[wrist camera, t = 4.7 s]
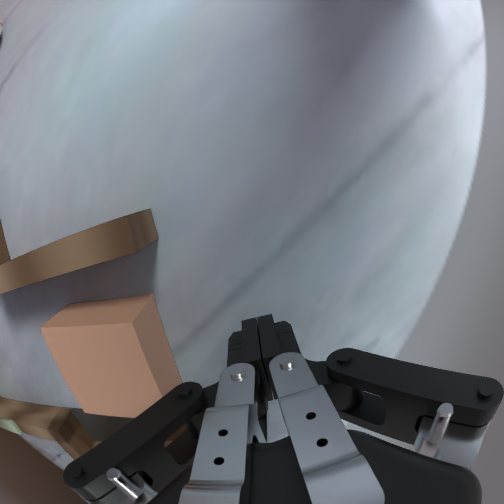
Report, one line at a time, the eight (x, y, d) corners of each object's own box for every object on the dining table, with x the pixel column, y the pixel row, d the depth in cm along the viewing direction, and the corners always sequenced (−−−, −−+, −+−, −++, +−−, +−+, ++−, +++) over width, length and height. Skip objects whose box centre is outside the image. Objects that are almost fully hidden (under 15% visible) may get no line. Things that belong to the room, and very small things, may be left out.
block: (154, 292, 14) (131, 322, 11) (183, 379, 15) (173, 418, 12) (70, 302, 14) (39, 327, 10) (104, 380, 15) (84, 412, 12)
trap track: (133, 132, 12) (102, 118, 8) (242, 447, 17) (242, 481, 14) (-65, 257, 12) (-86, 266, 9) (21, 430, 17) (10, 447, 14)
